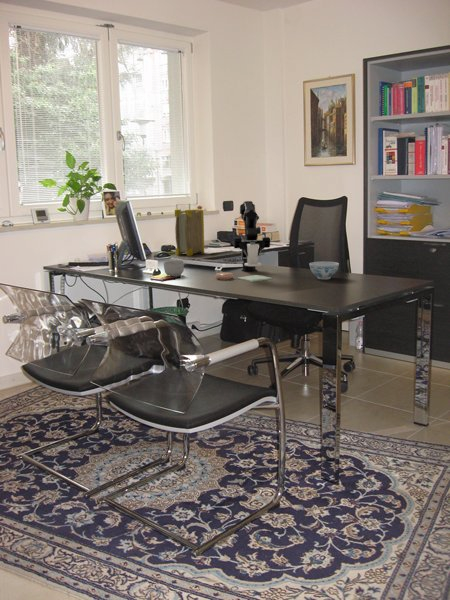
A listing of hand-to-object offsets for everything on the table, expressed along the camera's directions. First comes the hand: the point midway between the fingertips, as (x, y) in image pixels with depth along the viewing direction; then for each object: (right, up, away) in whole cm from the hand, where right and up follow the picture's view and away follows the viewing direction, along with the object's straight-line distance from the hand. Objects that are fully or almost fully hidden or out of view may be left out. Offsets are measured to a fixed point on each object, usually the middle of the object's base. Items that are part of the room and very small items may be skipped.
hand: (252, 255), depth 353 cm
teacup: (-42, -10, +22) cm, 48 cm away
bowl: (-14, -12, +8) cm, 20 cm away
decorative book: (-37, +8, +109) cm, 116 cm away
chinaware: (+37, -12, +2) cm, 39 cm away
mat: (+1, -12, +5) cm, 13 cm away
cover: (0, -5, +2) cm, 5 cm away
